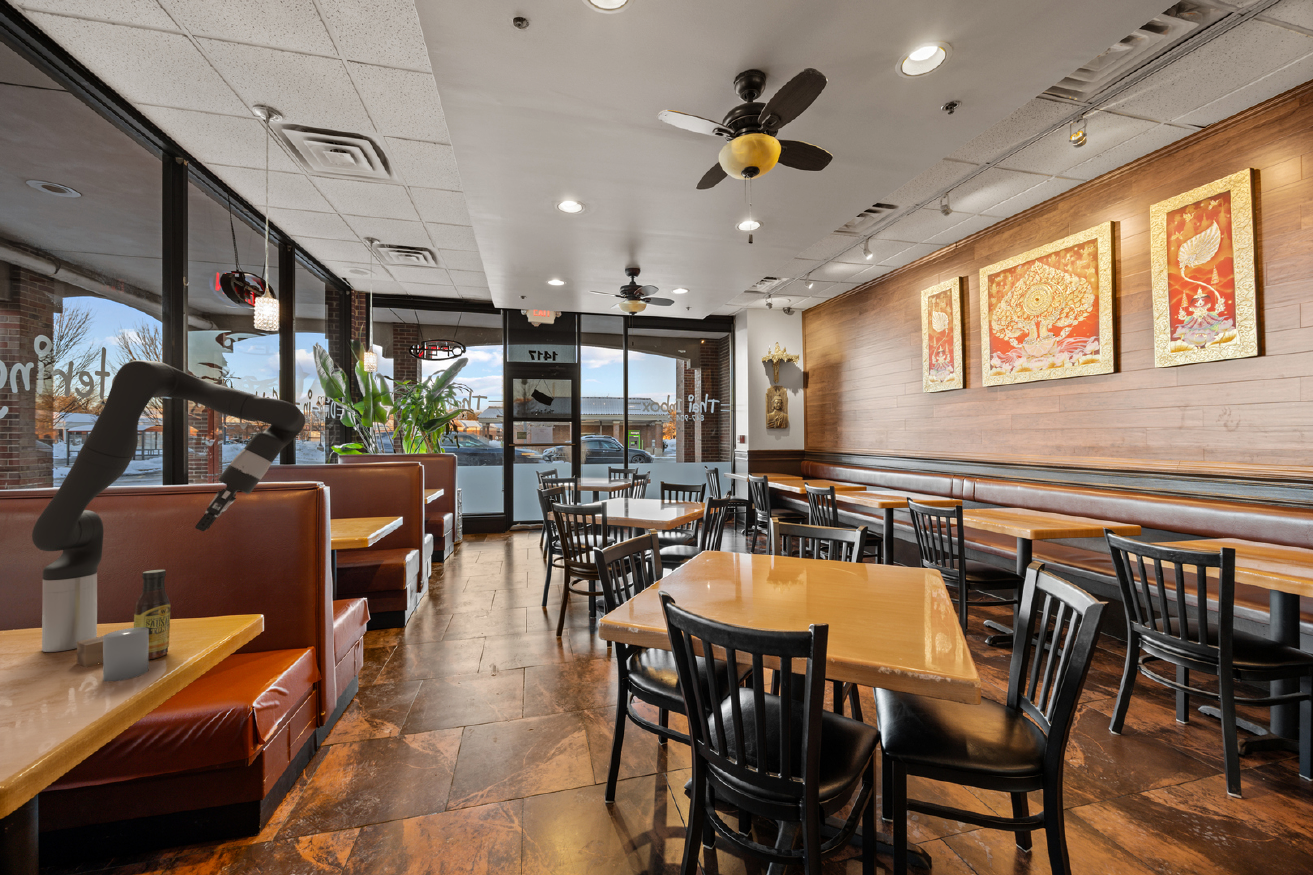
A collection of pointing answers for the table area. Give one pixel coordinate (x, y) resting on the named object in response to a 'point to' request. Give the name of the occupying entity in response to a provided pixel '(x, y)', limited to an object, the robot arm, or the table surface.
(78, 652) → the walnut block
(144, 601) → the sauce bottle
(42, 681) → the table surface
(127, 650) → the grey rounded cylinder
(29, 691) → the table surface
